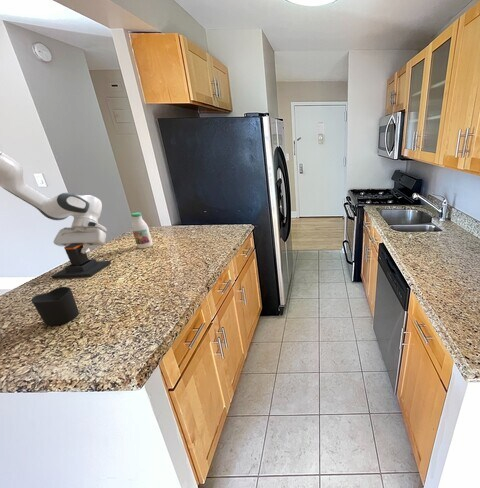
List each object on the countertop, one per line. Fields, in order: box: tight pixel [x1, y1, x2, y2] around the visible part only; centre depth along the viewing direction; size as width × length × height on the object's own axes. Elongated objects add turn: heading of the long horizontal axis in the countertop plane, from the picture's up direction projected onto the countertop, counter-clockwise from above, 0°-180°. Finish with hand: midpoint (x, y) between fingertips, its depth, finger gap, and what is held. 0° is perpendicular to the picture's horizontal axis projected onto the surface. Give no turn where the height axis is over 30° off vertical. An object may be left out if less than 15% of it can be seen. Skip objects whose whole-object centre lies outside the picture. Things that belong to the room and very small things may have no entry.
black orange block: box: [63, 243, 90, 265], centre depth 121 cm, size 4×5×9 cm
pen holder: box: [31, 286, 80, 327], centre depth 89 cm, size 9×9×10 cm
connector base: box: [51, 258, 112, 280], centre depth 123 cm, size 16×14×4 cm
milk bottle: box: [130, 212, 154, 249], centre depth 148 cm, size 8×8×20 cm
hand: (75, 253), depth 120 cm, fingers closed on black orange block, 4 cm apart
